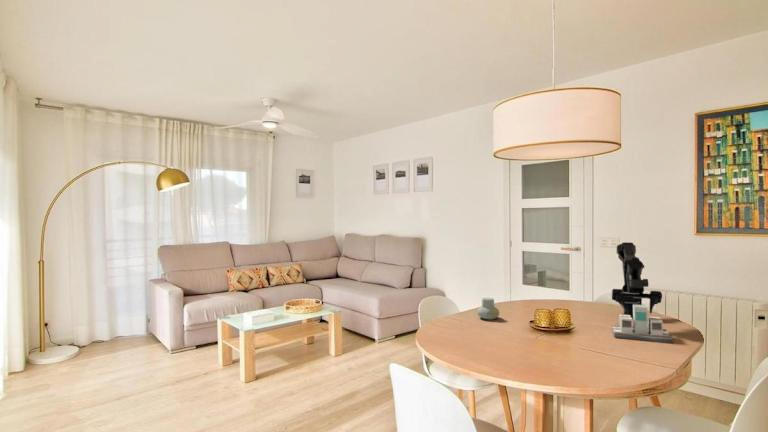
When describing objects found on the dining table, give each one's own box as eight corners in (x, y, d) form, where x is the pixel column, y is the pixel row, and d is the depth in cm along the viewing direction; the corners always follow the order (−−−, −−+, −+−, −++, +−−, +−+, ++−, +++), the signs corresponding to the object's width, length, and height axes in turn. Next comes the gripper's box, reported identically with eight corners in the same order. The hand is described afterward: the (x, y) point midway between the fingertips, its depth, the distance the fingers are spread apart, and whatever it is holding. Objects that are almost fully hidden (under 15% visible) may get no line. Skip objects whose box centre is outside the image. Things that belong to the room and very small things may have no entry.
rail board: (611, 328, 178) (611, 312, 178) (665, 333, 169) (665, 315, 169) (614, 337, 165) (614, 319, 165) (673, 343, 157) (672, 324, 157)
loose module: (633, 329, 171) (632, 304, 171) (645, 330, 169) (645, 304, 169) (635, 333, 166) (634, 306, 166) (647, 334, 164) (647, 307, 164)
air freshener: (493, 315, 207) (493, 296, 207) (502, 319, 199) (501, 299, 199) (474, 317, 204) (474, 297, 204) (482, 321, 196) (482, 301, 196)
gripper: (611, 271, 181) (614, 300, 171) (660, 272, 173) (666, 303, 163) (610, 285, 188) (613, 314, 178) (657, 287, 180) (663, 317, 170)
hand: (638, 312), depth 172 cm, fingers open, 9 cm apart
